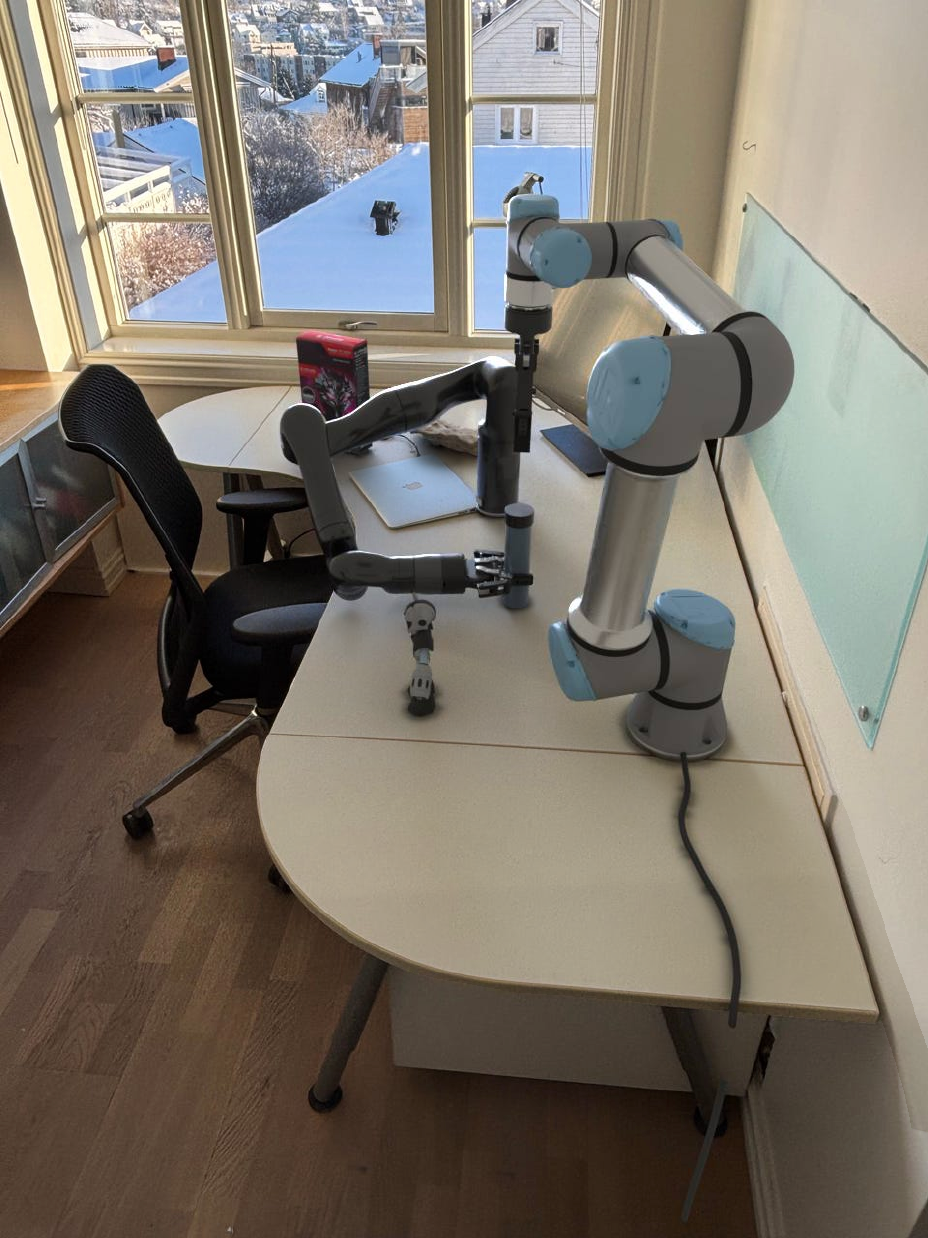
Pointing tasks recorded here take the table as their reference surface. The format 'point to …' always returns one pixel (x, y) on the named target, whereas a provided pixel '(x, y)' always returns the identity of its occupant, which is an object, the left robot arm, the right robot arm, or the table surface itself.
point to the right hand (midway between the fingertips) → (522, 441)
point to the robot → (421, 655)
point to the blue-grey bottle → (517, 563)
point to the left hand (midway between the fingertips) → (530, 571)
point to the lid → (519, 515)
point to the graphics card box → (333, 374)
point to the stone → (450, 436)
